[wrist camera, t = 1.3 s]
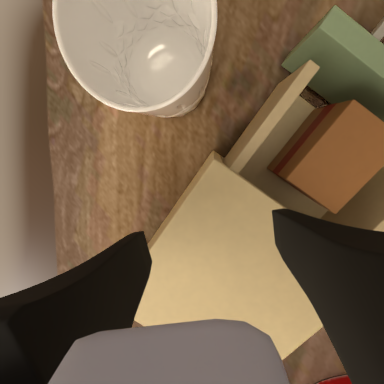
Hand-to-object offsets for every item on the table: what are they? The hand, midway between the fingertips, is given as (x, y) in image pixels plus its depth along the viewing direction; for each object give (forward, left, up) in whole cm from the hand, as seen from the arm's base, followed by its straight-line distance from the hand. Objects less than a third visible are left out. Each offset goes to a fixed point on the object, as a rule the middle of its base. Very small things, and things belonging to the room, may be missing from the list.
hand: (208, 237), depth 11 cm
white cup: (+5, -10, -11) cm, 16 cm away
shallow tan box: (-2, +6, -11) cm, 12 cm away
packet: (-8, -4, -9) cm, 13 cm away
